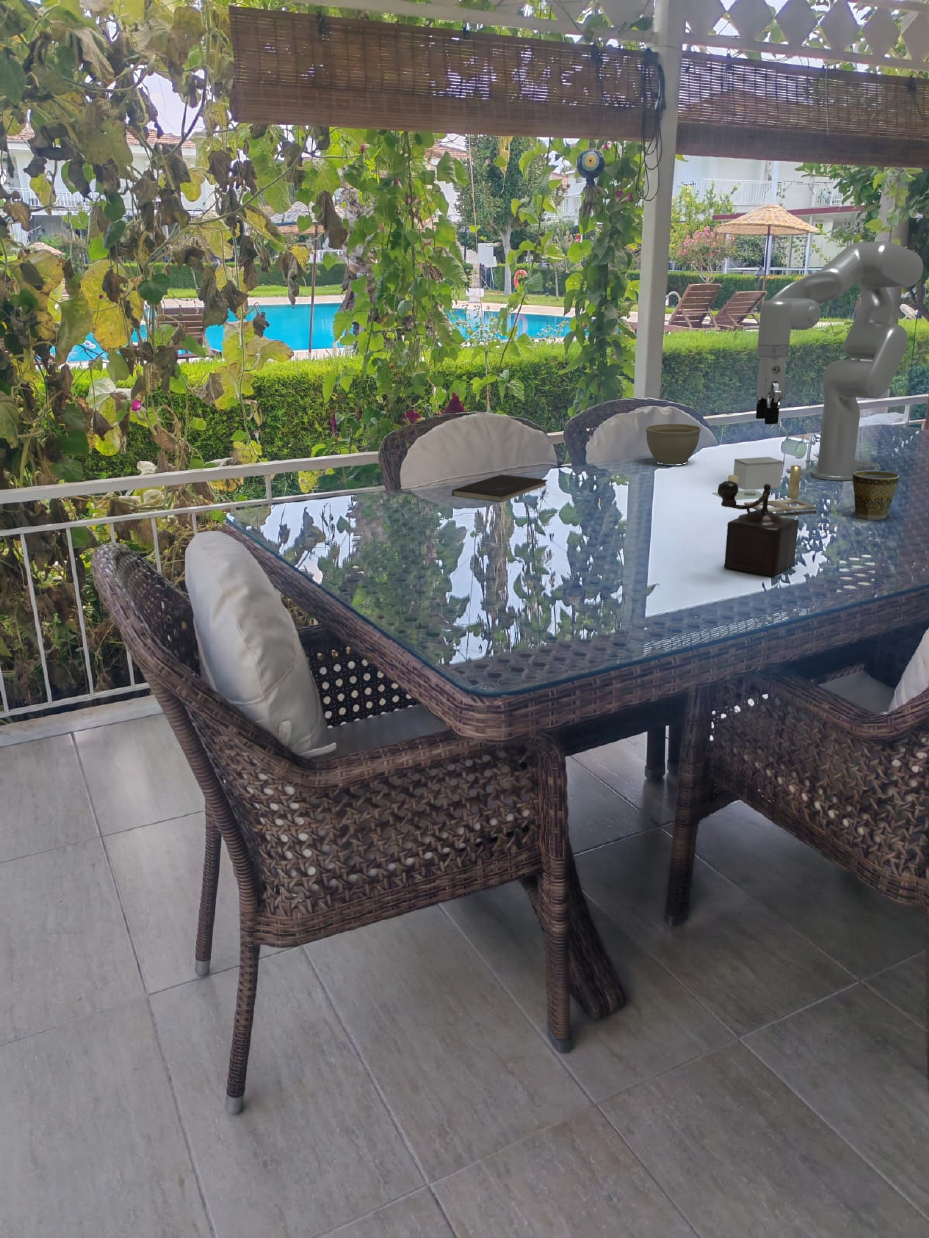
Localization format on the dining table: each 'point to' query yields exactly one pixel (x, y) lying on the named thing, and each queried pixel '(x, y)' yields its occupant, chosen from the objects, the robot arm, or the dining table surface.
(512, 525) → the dining table surface
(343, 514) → the dining table surface
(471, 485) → the hardcover book
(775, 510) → the board
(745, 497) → the pad
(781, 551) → the manual coffee grinder
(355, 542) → the dining table surface
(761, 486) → the block
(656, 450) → the planter bowl
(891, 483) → the ceramic cup
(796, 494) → the brass pin
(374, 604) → the dining table surface
